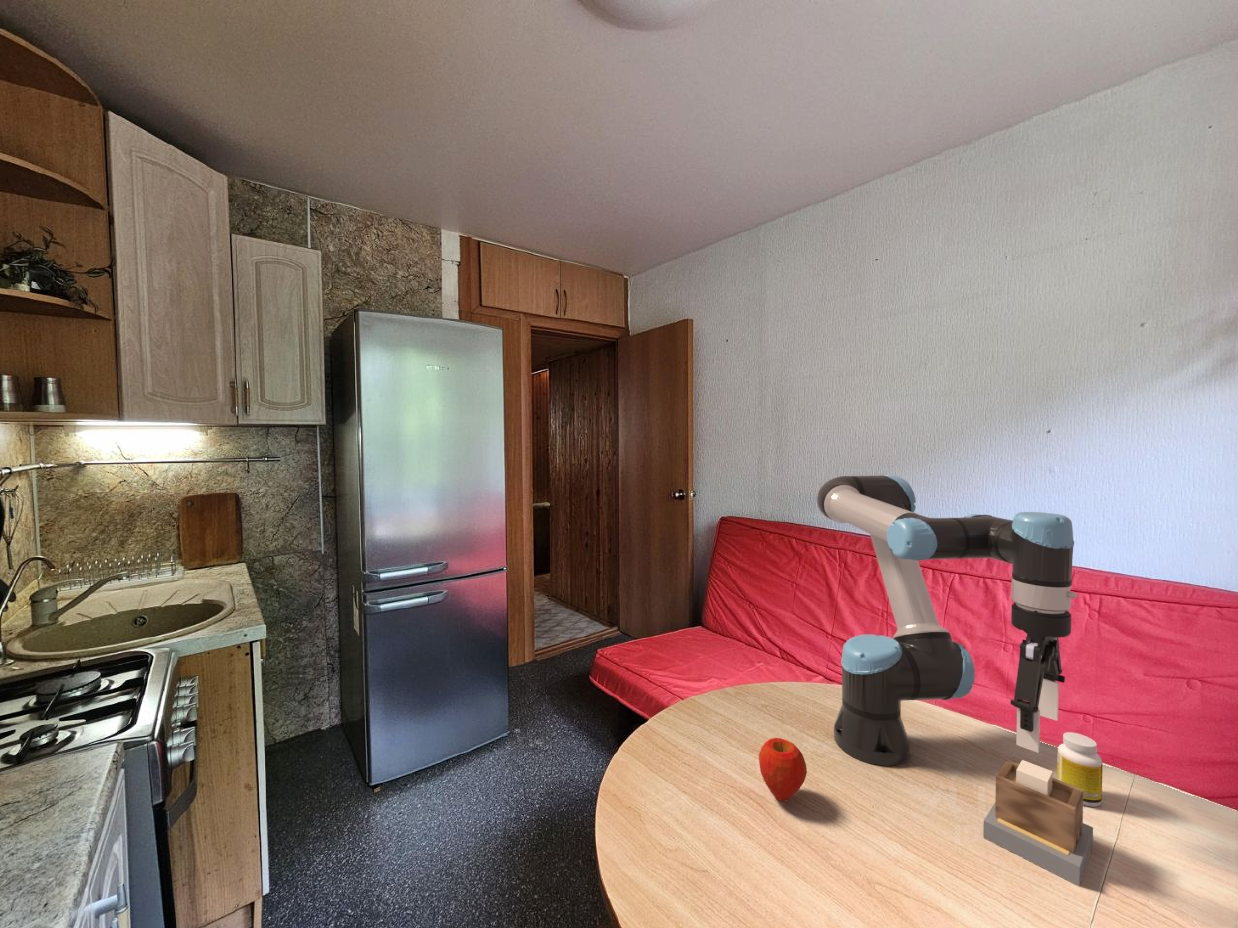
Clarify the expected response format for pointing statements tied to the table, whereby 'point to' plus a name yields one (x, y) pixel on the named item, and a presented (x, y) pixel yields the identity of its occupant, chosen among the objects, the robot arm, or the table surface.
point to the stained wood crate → (1040, 808)
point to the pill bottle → (1081, 766)
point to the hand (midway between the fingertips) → (1038, 731)
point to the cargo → (1034, 777)
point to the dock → (1040, 847)
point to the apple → (782, 768)
